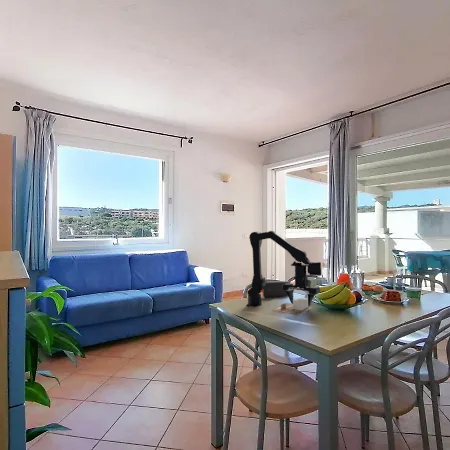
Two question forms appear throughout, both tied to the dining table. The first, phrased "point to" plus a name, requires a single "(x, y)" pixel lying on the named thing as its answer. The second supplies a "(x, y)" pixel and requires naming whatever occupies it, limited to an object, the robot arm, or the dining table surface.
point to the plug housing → (300, 303)
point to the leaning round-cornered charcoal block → (274, 289)
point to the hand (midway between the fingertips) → (300, 305)
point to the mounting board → (289, 309)
